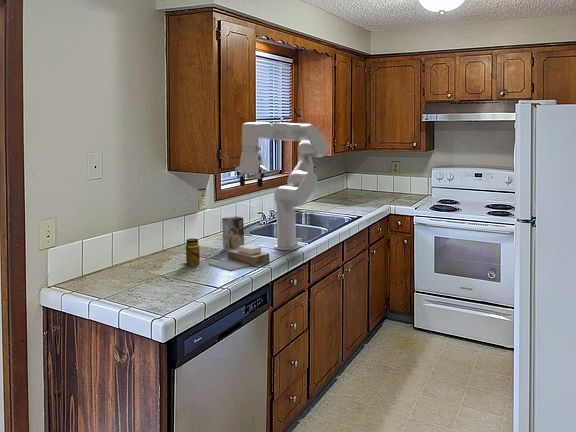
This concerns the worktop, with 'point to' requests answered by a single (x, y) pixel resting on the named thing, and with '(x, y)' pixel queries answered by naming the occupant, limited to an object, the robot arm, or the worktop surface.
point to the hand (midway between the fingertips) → (251, 186)
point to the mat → (229, 264)
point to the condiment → (192, 253)
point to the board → (248, 257)
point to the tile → (249, 249)
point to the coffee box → (232, 233)
